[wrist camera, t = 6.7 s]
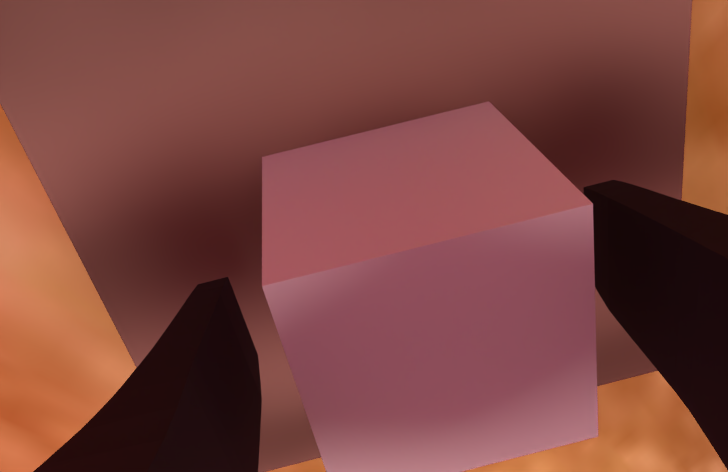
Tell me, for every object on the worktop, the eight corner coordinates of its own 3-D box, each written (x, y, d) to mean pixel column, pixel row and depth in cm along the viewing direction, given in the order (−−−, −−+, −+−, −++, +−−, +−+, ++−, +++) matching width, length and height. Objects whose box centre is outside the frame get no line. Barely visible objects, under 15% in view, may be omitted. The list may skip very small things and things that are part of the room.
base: (621, 306, 21) (672, 366, 18) (207, 412, 21) (199, 488, 18) (621, -196, 14) (703, -214, 11) (-5, -45, 14) (-68, -28, 11)
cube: (508, 287, 16) (598, 436, 12) (317, 336, 16) (337, 503, 12) (488, 101, 14) (593, 203, 9) (262, 157, 14) (261, 286, 9)
